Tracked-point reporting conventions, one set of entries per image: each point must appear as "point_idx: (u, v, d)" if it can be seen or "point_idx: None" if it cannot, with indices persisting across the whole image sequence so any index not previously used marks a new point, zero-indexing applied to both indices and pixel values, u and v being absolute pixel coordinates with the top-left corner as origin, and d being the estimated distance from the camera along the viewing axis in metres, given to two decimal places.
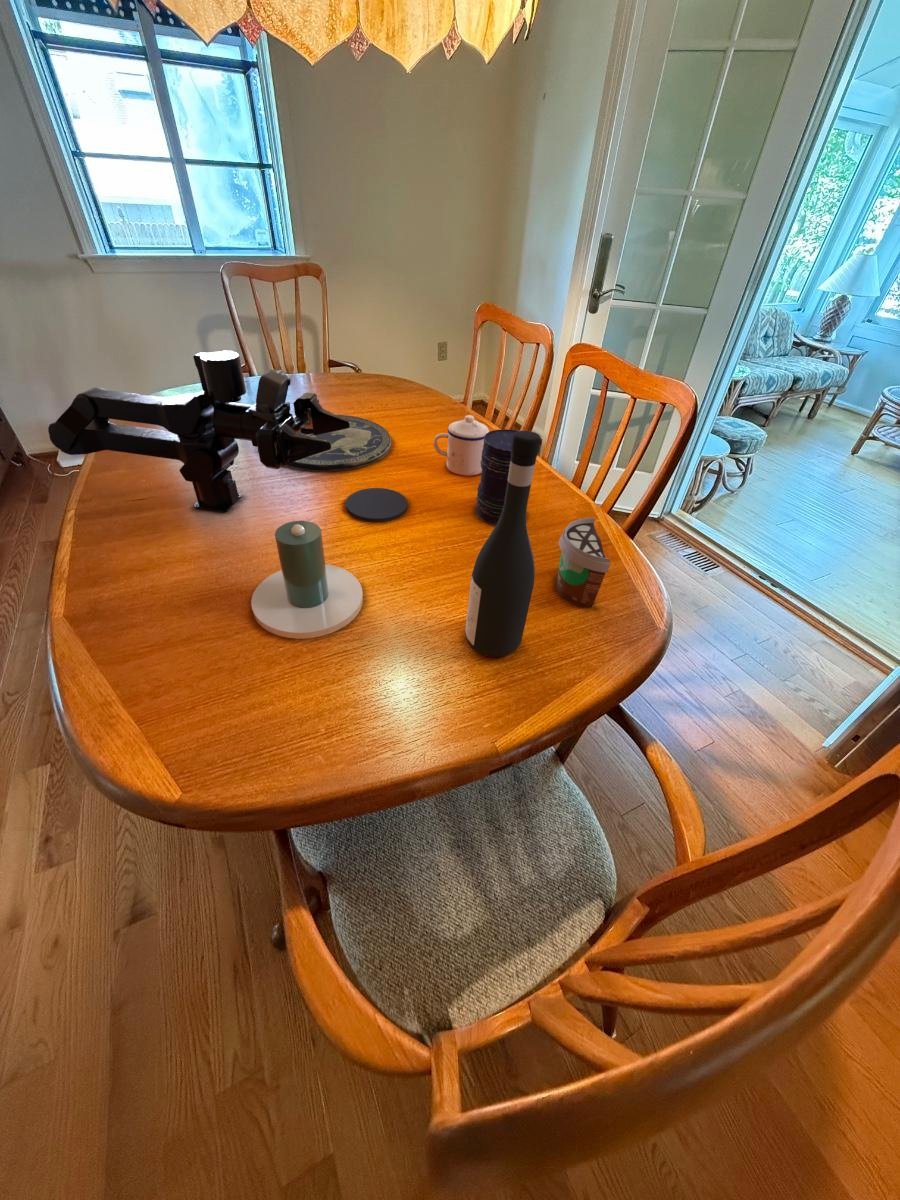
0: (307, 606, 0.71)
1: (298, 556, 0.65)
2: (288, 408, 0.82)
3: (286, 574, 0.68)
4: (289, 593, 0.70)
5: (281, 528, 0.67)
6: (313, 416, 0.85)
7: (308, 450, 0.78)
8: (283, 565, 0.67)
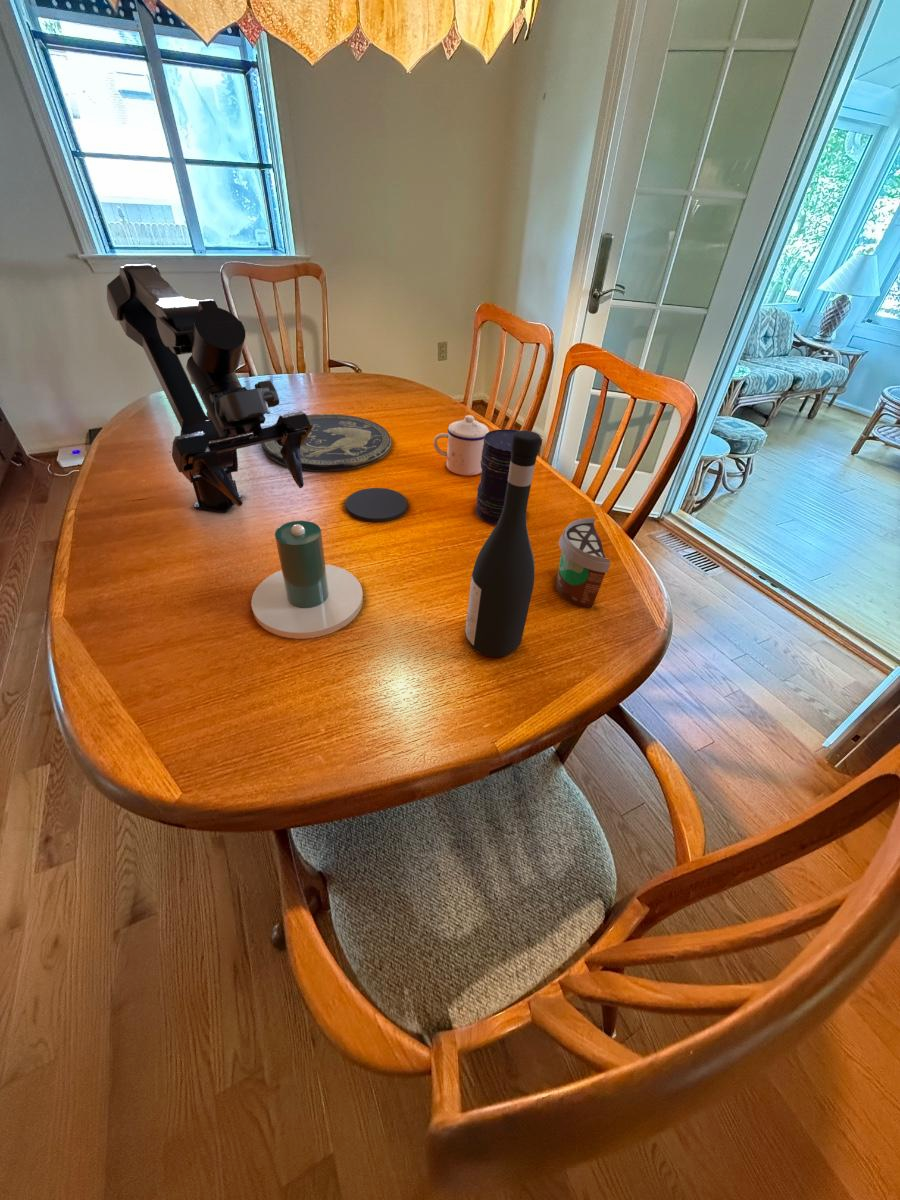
0: (307, 606, 0.71)
1: (298, 556, 0.65)
2: (259, 422, 0.69)
3: (286, 574, 0.68)
4: (289, 593, 0.70)
5: (281, 528, 0.67)
6: (285, 444, 0.72)
7: (220, 487, 0.67)
8: (283, 565, 0.67)
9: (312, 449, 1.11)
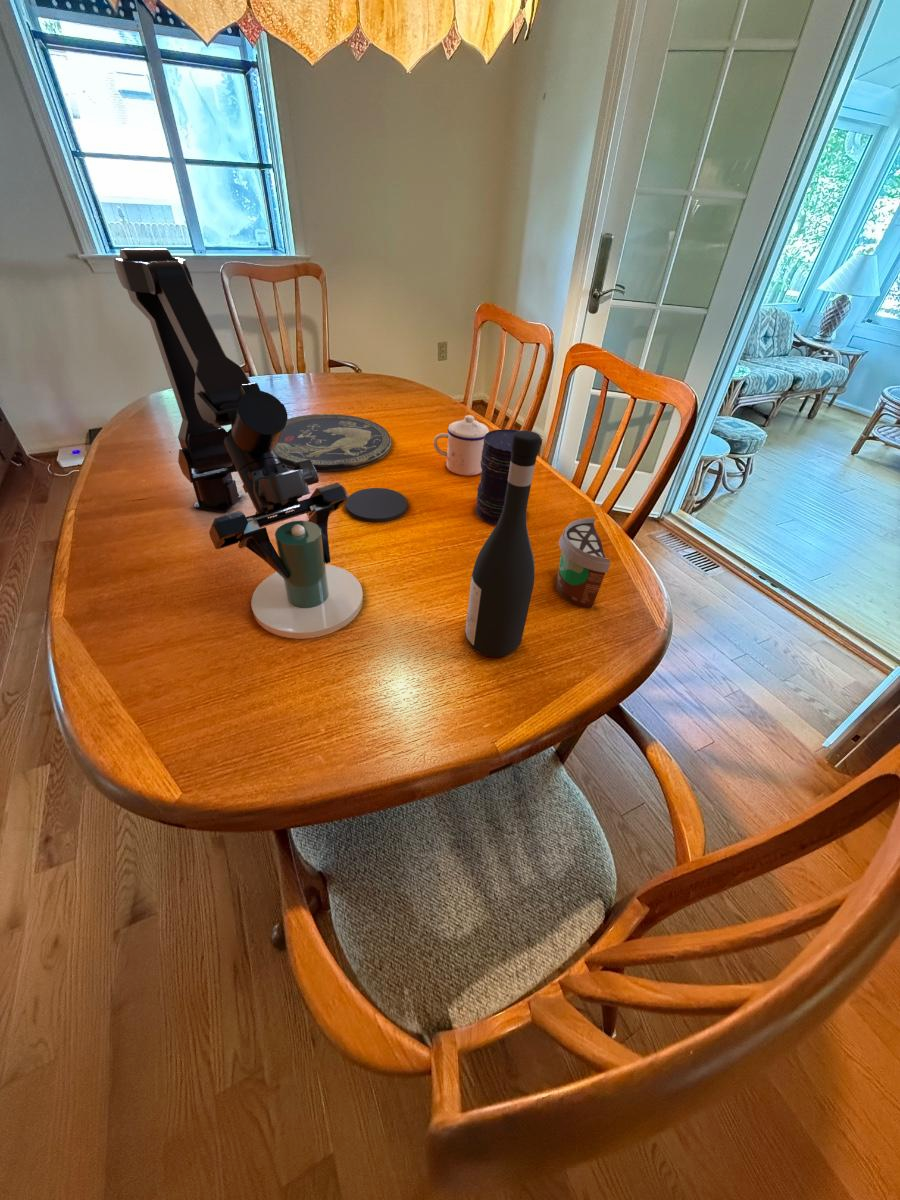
0: (307, 606, 0.71)
1: (298, 556, 0.65)
2: (297, 498, 0.68)
3: None
4: (289, 593, 0.70)
5: (281, 527, 0.67)
6: (312, 519, 0.70)
7: (267, 560, 0.67)
8: None
9: (312, 449, 1.11)
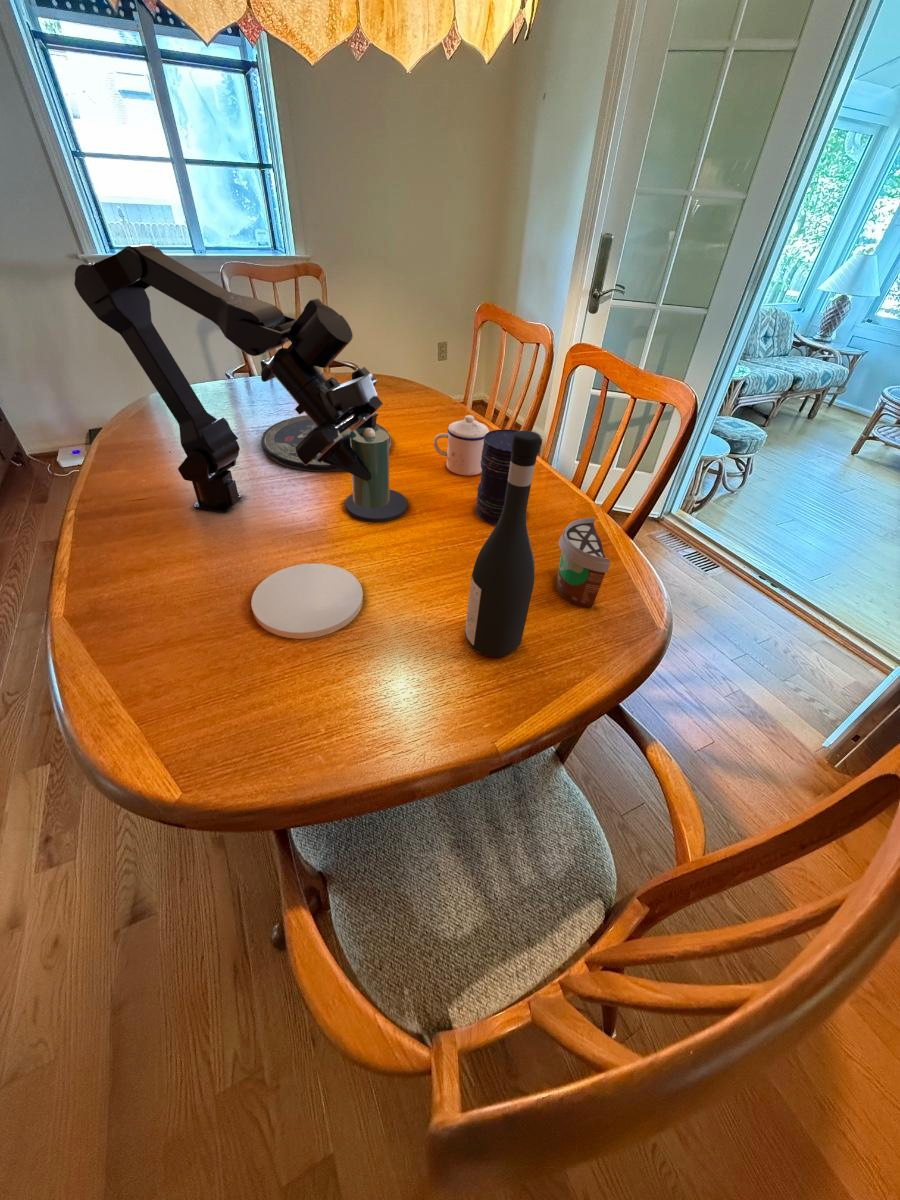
0: (382, 505, 0.81)
1: (380, 454, 0.75)
2: (353, 407, 0.76)
3: None
4: (366, 496, 0.79)
5: (352, 435, 0.75)
6: (362, 427, 0.79)
7: (348, 467, 0.75)
8: None
9: None
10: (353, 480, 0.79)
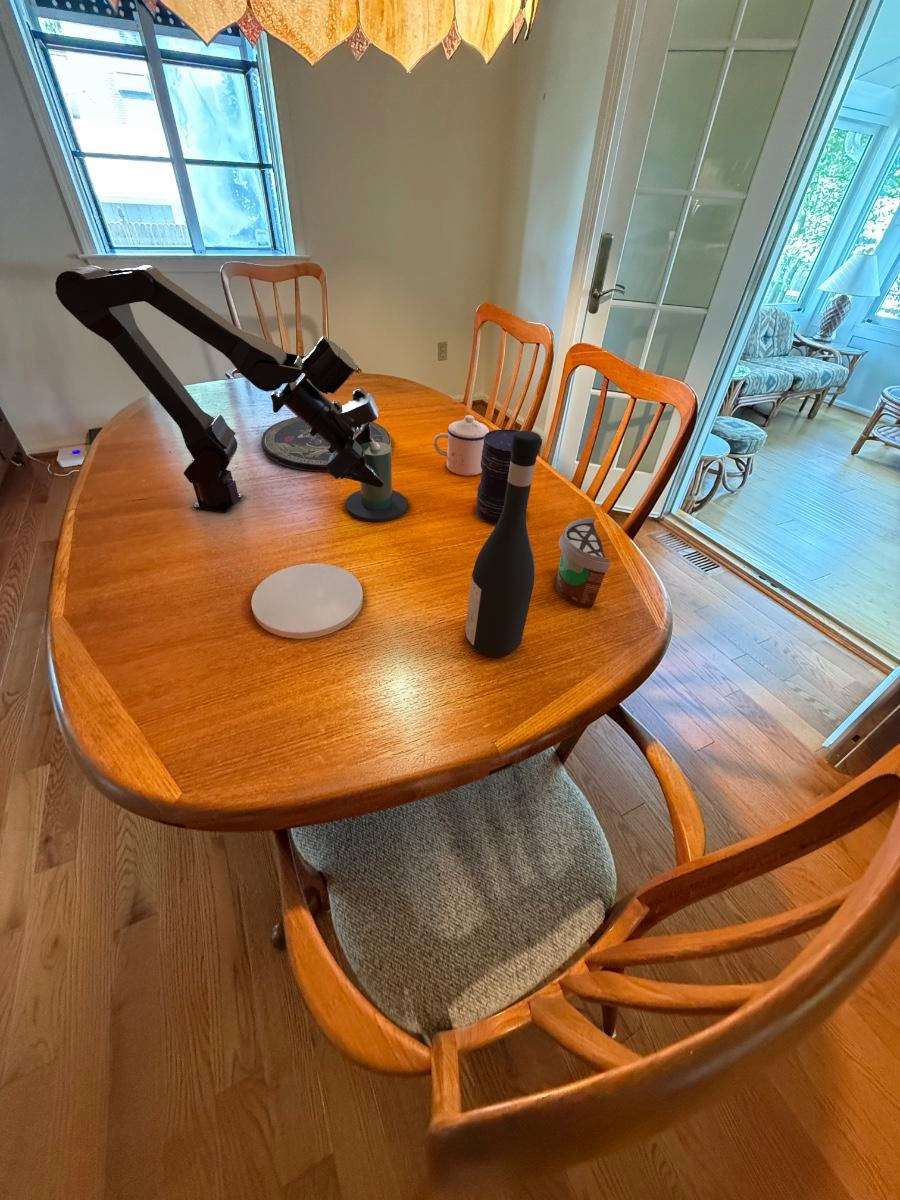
0: (389, 505, 0.95)
1: (388, 462, 0.90)
2: None
3: None
4: (379, 499, 0.93)
5: (362, 450, 0.88)
6: (361, 436, 0.93)
7: (364, 478, 0.87)
8: None
9: (312, 449, 1.11)
10: (365, 488, 0.92)
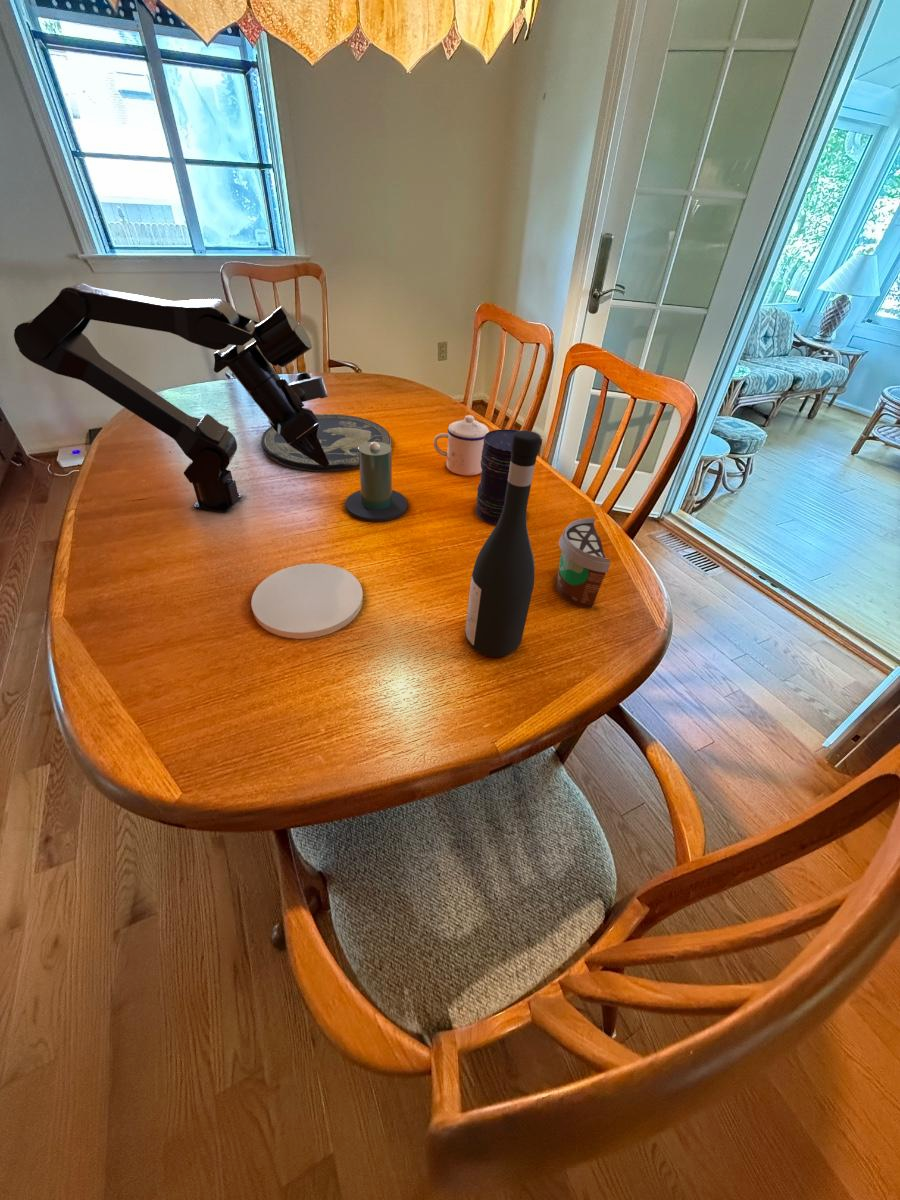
0: (389, 505, 0.95)
1: (388, 462, 0.90)
2: None
3: (378, 483, 0.91)
4: (379, 499, 0.93)
5: (362, 450, 0.88)
6: None
7: (312, 453, 0.83)
8: (376, 476, 0.90)
9: None
10: (365, 488, 0.92)
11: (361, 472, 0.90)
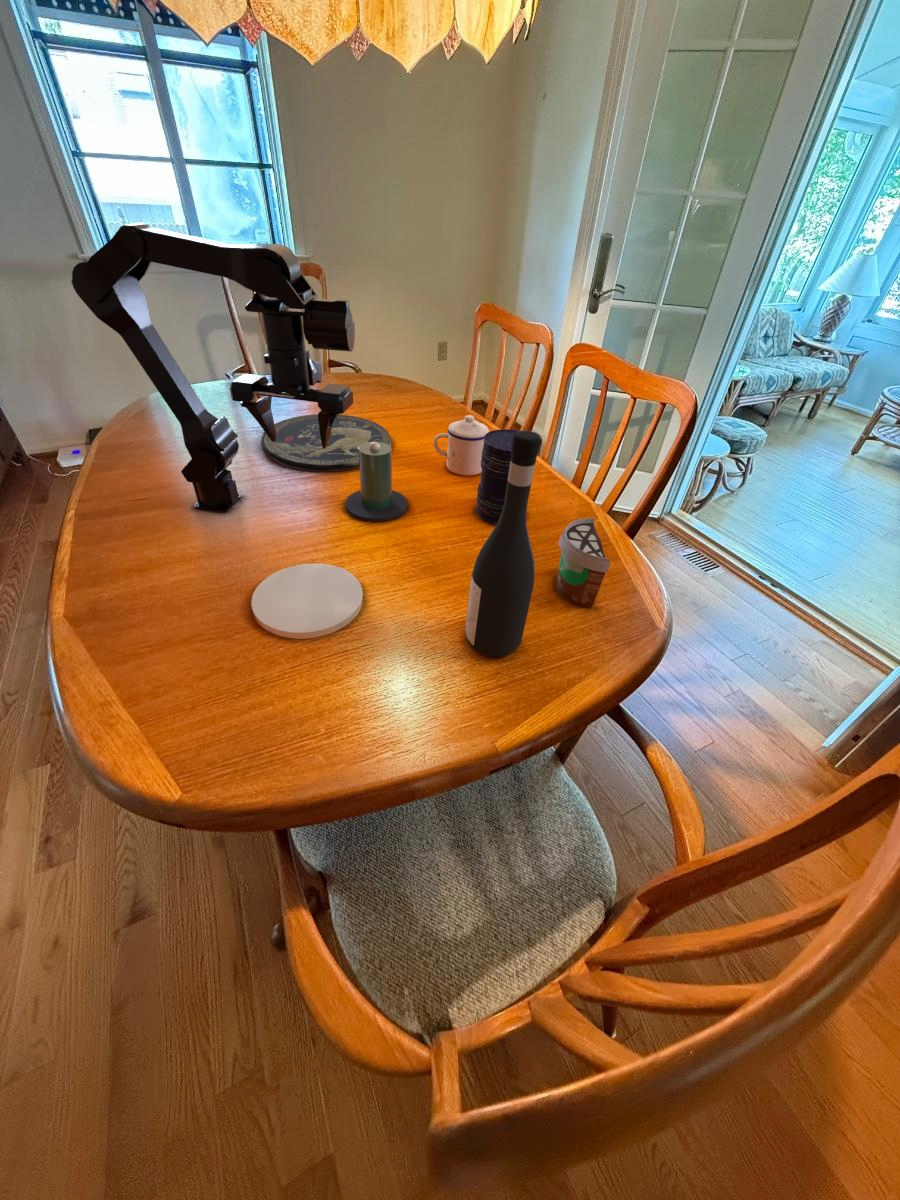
0: (389, 505, 0.95)
1: (388, 462, 0.90)
2: None
3: (378, 483, 0.91)
4: (379, 499, 0.93)
5: (362, 450, 0.88)
6: (265, 401, 0.82)
7: (328, 431, 0.83)
8: (376, 476, 0.90)
9: (312, 449, 1.11)
10: (365, 488, 0.92)
11: (361, 472, 0.90)
